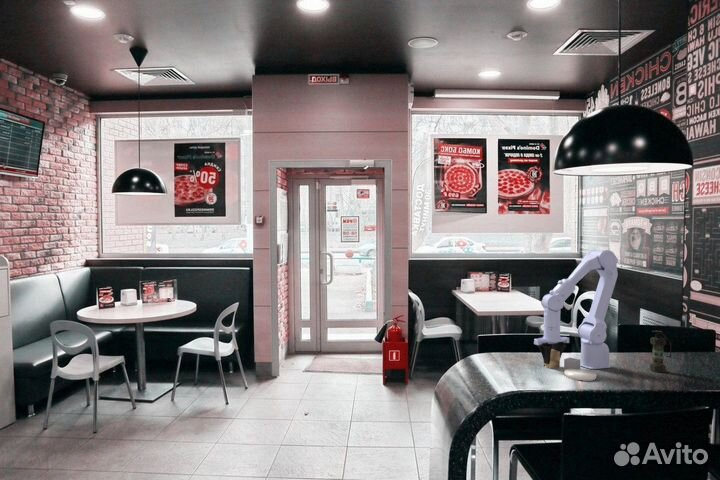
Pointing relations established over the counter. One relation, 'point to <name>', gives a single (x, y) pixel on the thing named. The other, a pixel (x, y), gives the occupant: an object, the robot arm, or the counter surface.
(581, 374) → the coaster
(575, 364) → the grey block
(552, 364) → the oak block
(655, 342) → the grenade
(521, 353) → the counter surface
